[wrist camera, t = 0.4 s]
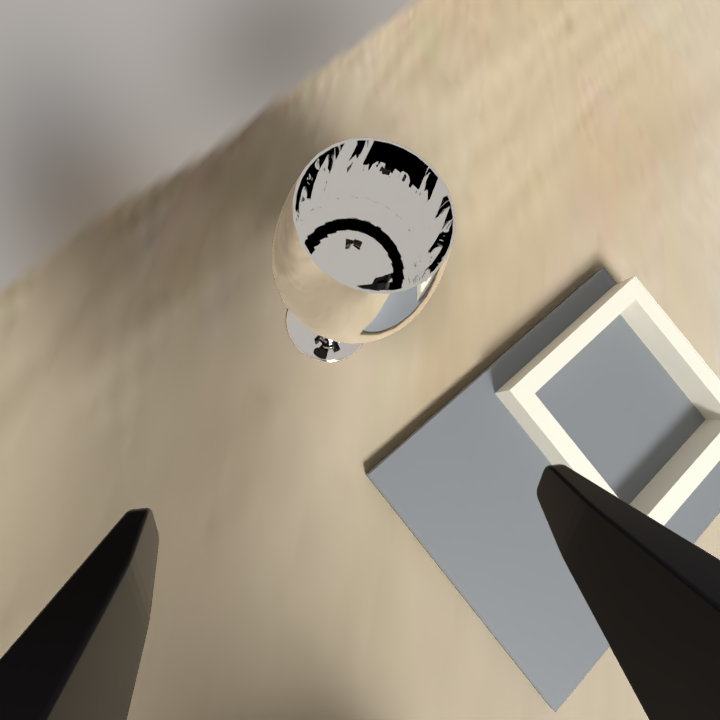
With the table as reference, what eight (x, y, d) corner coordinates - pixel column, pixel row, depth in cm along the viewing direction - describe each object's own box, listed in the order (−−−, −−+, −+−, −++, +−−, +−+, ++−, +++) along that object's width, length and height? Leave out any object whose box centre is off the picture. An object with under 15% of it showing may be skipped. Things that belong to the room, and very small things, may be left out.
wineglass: (257, 291, 23) (237, 149, 12) (355, 256, 25) (423, 99, 13) (299, 391, 23) (321, 346, 11) (396, 350, 24) (506, 273, 13)
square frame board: (750, 460, 27) (791, 463, 25) (548, 705, 23) (576, 733, 20) (597, 271, 28) (624, 257, 25) (365, 474, 23) (374, 478, 21)
